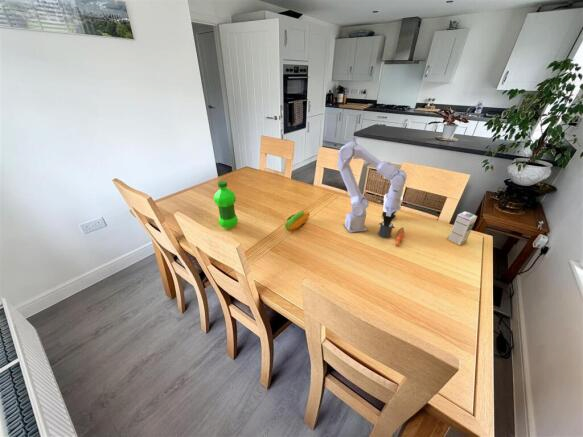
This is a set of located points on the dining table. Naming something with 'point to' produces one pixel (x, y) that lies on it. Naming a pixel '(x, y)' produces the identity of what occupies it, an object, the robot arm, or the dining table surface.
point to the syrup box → (462, 227)
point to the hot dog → (296, 221)
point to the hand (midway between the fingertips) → (387, 222)
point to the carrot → (399, 236)
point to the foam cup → (385, 203)
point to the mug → (385, 230)
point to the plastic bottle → (226, 206)
